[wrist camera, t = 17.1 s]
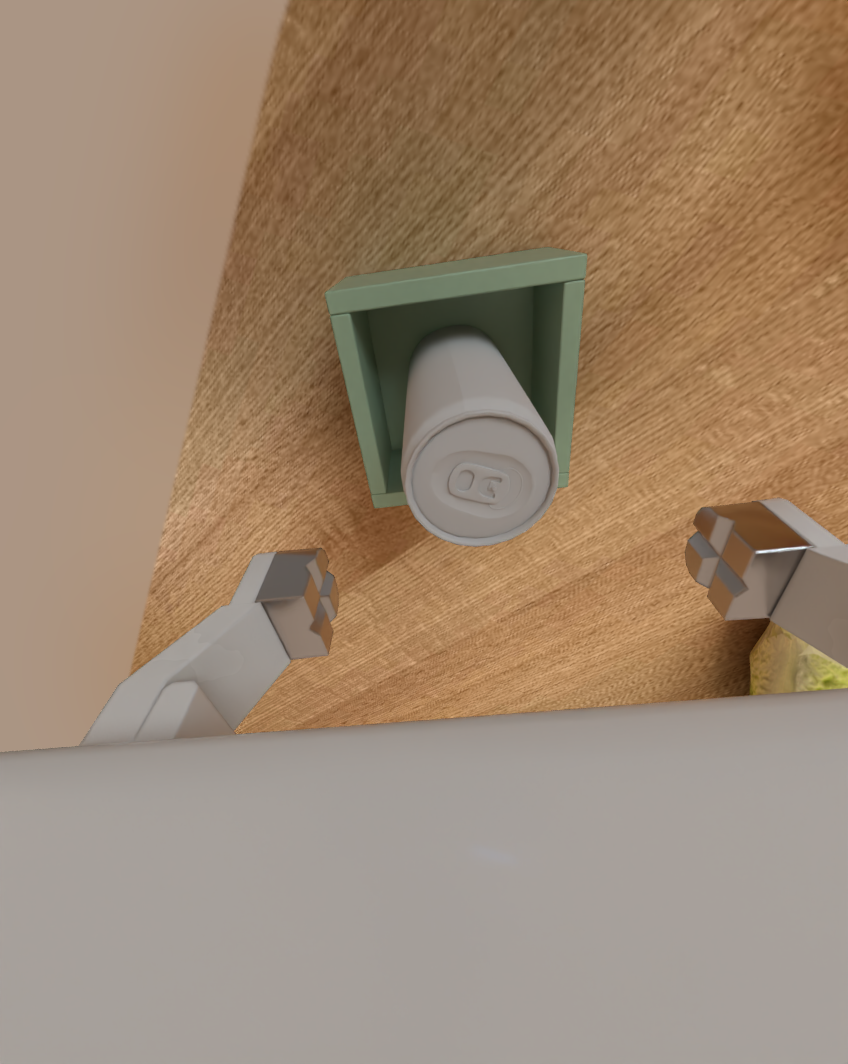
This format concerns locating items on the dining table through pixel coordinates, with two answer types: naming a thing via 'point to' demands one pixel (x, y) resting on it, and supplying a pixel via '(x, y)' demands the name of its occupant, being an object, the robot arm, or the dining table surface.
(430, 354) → the beverage can
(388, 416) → the bin
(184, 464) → the dining table surface
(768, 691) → the lettuce
